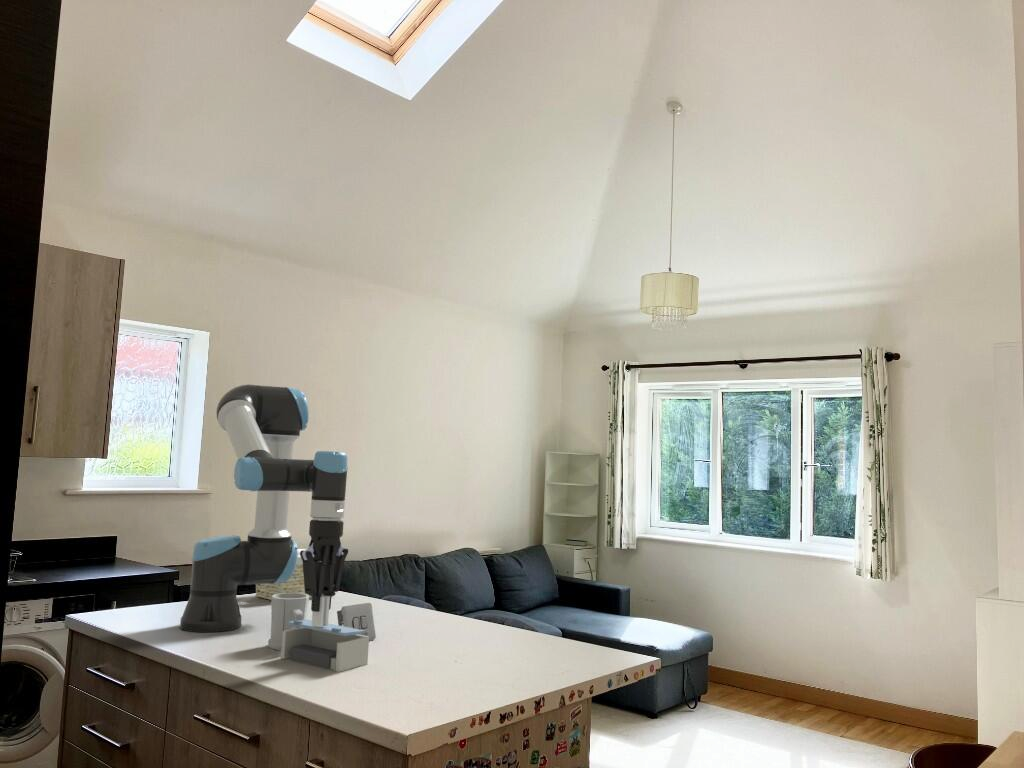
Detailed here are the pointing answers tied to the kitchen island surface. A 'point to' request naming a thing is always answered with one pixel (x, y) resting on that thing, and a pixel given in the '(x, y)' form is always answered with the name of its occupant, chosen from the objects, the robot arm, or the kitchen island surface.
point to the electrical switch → (358, 618)
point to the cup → (286, 615)
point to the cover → (328, 628)
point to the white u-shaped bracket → (329, 646)
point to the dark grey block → (314, 656)
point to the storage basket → (285, 583)
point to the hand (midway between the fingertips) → (319, 625)
